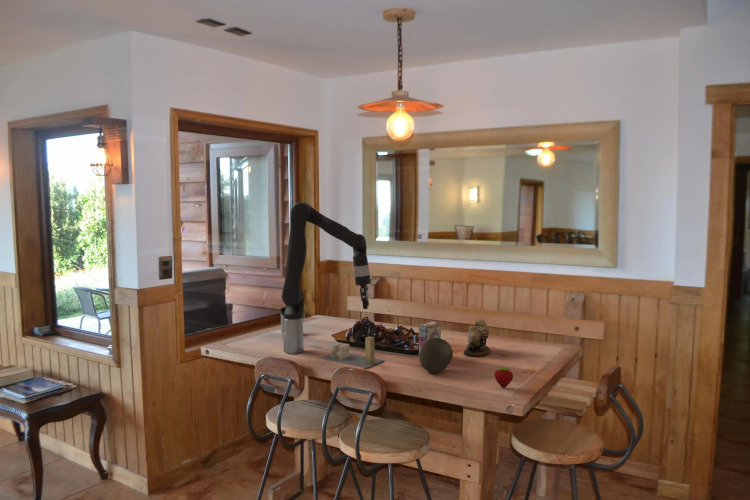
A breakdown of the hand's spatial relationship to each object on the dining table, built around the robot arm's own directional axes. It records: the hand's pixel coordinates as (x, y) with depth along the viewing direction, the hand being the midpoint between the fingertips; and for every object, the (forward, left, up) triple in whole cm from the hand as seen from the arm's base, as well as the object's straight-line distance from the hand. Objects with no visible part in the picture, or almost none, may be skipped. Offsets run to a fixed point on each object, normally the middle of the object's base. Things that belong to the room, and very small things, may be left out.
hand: (366, 307), depth 276 cm
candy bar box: (+29, +12, -23) cm, 39 cm away
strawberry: (+76, -9, -23) cm, 80 cm away
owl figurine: (+44, +32, -23) cm, 59 cm away
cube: (-6, -13, -22) cm, 27 cm away
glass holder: (-60, +9, -23) cm, 65 cm away
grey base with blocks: (+1, -13, -23) cm, 27 cm away
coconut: (+43, -6, -23) cm, 49 cm away
